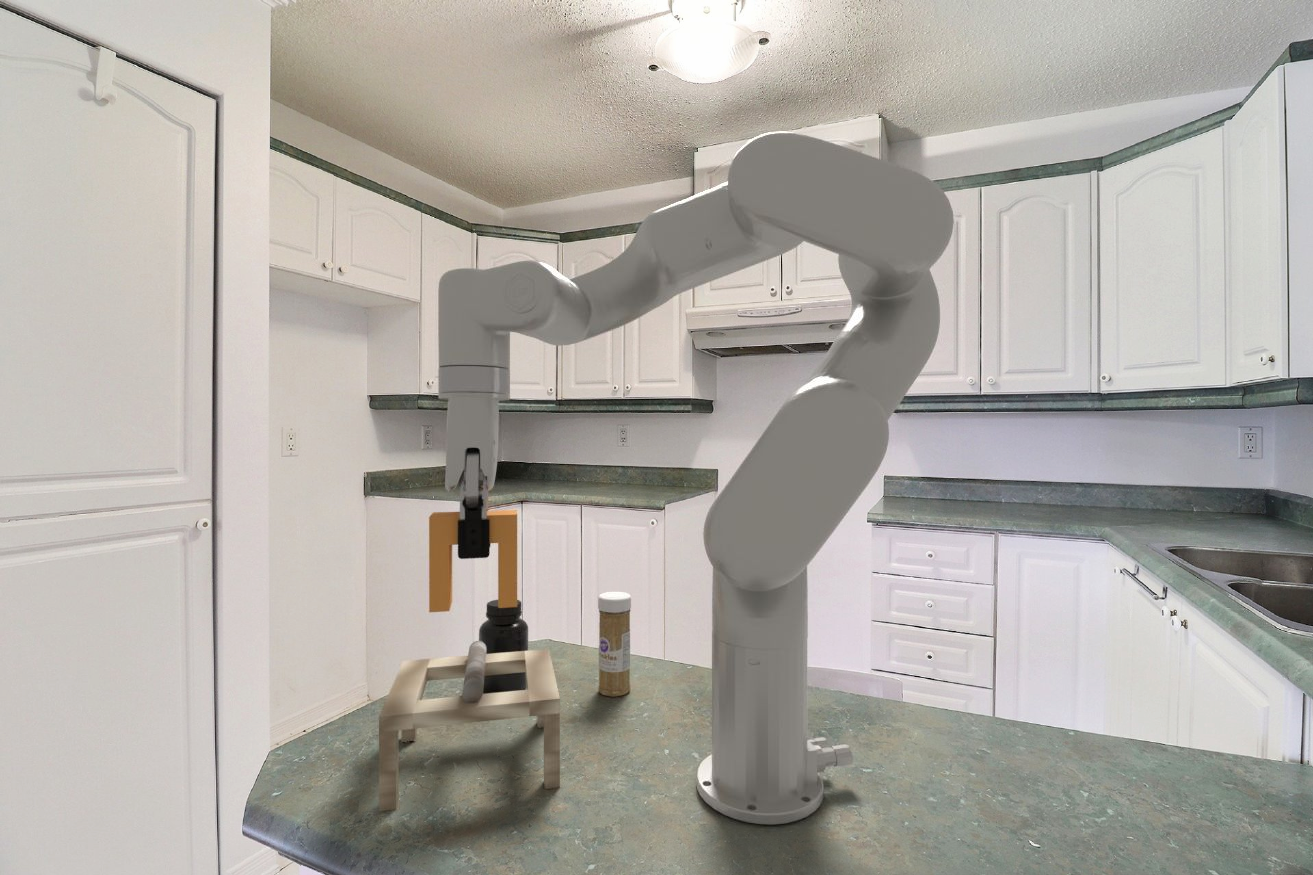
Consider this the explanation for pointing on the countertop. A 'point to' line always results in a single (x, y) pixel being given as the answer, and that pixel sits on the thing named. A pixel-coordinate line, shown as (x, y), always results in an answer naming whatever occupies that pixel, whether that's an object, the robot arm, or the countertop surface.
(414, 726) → the wooden frame stool
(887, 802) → the countertop surface
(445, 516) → the orange block
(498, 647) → the supplement bottle
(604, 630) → the sprinkles bottle
